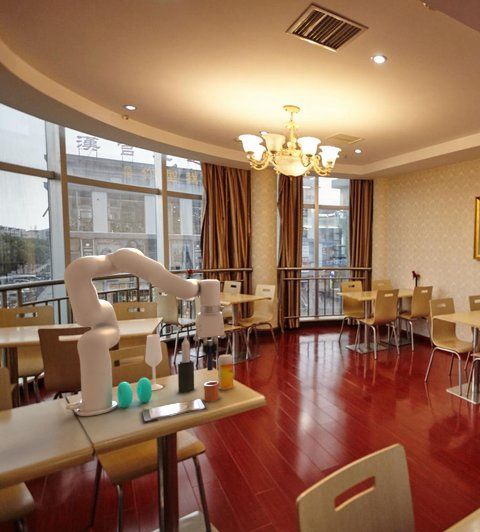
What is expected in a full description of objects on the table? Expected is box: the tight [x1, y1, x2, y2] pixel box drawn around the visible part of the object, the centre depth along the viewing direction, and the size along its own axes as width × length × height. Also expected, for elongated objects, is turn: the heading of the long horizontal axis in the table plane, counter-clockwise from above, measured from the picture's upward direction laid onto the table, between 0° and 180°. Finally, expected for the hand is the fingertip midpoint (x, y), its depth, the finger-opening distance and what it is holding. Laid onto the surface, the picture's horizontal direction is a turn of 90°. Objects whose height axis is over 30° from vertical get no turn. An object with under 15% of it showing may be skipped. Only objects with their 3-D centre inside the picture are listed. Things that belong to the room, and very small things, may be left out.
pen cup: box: [203, 380, 220, 402], centre depth 162 cm, size 5×5×7 cm
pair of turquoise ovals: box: [116, 377, 153, 409], centre depth 157 cm, size 10×10×10 cm
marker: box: [206, 339, 214, 372], centre depth 162 cm, size 2×2×12 cm
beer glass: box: [217, 353, 234, 391], centre depth 176 cm, size 6×6×15 cm
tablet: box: [142, 398, 206, 424], centre depth 151 cm, size 20×12×1 cm, turn 127°
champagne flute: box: [144, 333, 164, 391], centre depth 176 cm, size 7×7×24 cm
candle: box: [177, 335, 195, 394], centre depth 171 cm, size 5×5×25 cm
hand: (210, 353), depth 161 cm, fingers closed on marker, 2 cm apart
